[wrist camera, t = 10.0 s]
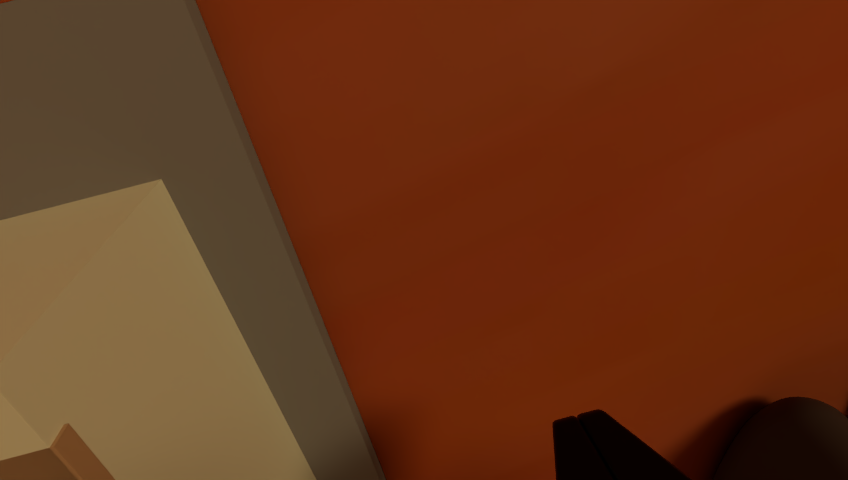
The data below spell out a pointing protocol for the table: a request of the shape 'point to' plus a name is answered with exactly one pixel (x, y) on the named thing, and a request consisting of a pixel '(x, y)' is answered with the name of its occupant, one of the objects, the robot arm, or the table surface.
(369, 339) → the table surface
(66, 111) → the mat
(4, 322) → the block
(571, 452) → the robot arm
